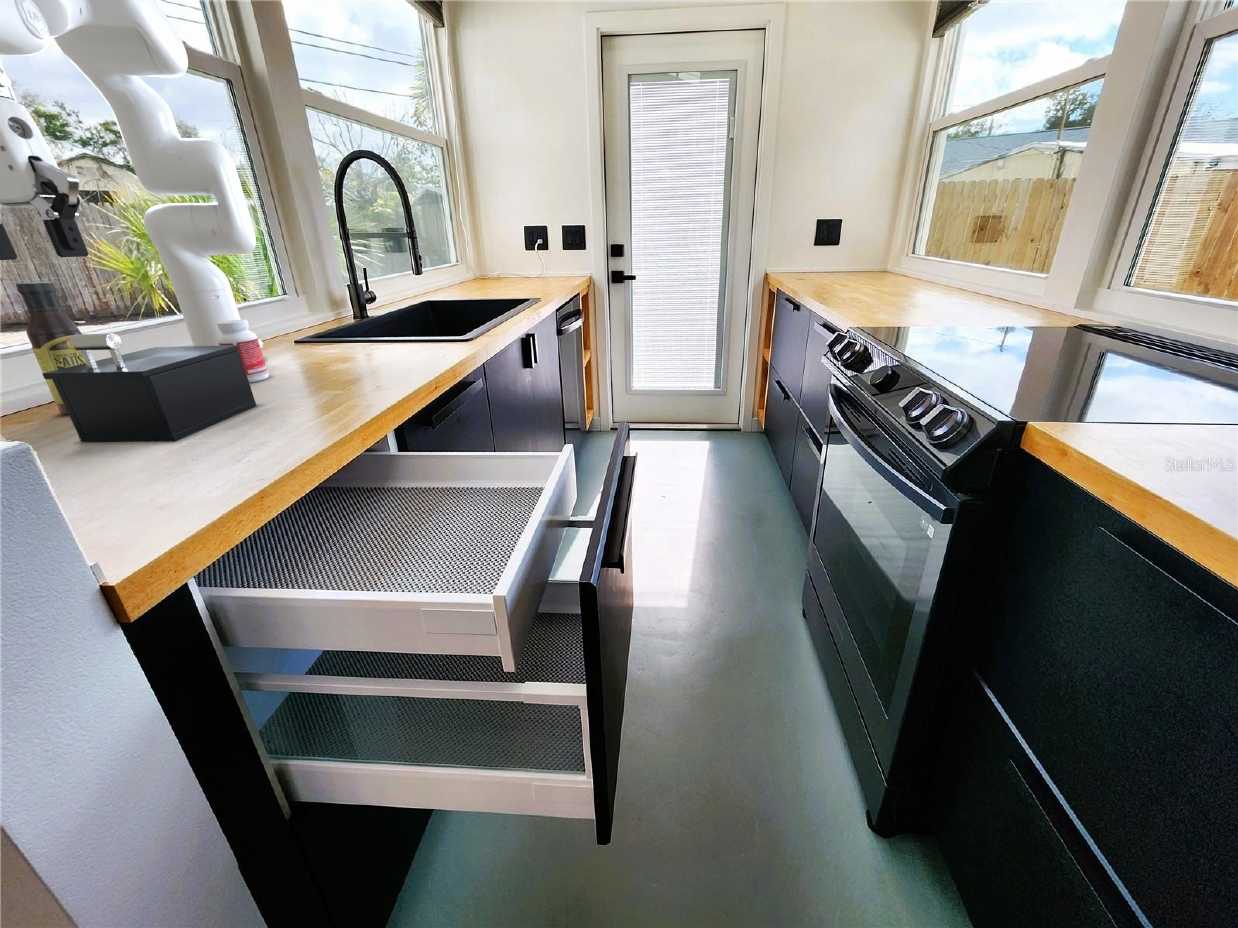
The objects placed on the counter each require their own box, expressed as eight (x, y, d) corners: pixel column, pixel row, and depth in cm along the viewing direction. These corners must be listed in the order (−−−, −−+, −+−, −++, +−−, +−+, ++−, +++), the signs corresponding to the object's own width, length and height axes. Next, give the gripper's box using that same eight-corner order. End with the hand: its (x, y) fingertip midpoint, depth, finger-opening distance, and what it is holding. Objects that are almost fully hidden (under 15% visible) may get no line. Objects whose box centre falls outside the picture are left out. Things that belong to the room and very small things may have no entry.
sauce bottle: (80, 416, 84) (19, 284, 76) (50, 415, 85) (-13, 284, 77) (123, 404, 90) (71, 280, 82) (94, 403, 91) (40, 280, 83)
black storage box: (175, 441, 72) (149, 376, 68) (81, 442, 73) (51, 378, 69) (256, 405, 86) (239, 350, 82) (177, 406, 87) (156, 352, 84)
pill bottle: (272, 374, 106) (255, 317, 102) (265, 381, 101) (247, 321, 97) (236, 378, 104) (217, 320, 100) (227, 385, 99) (207, 325, 95)
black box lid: (143, 377, 67) (126, 336, 65) (44, 379, 68) (24, 338, 66) (239, 350, 82) (228, 315, 80) (156, 352, 84) (143, 318, 82)
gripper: (71, 91, 60) (131, 254, 67) (-64, 101, 62) (9, 259, 68) (-6, 73, 53) (70, 257, 60) (-155, 85, 55) (-65, 262, 62)
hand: (37, 258), depth 64 cm, fingers open, 9 cm apart
